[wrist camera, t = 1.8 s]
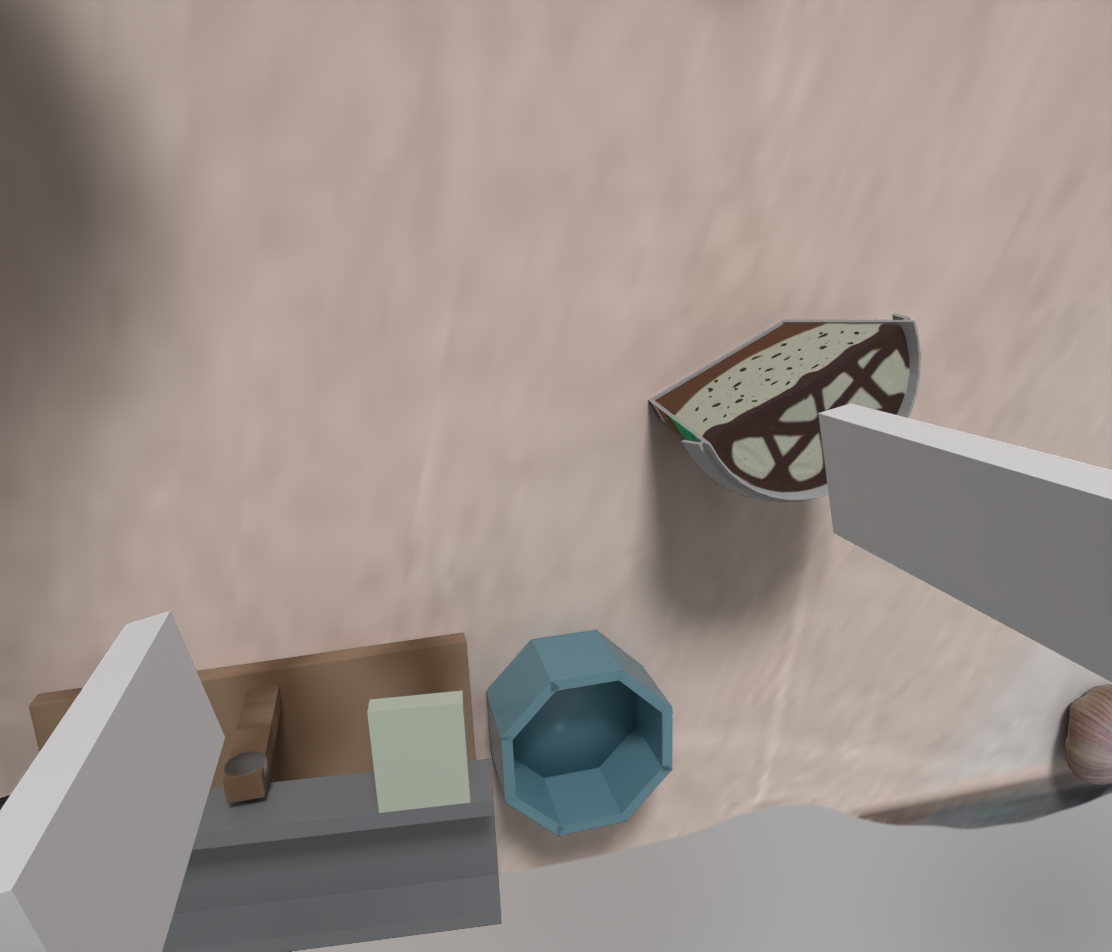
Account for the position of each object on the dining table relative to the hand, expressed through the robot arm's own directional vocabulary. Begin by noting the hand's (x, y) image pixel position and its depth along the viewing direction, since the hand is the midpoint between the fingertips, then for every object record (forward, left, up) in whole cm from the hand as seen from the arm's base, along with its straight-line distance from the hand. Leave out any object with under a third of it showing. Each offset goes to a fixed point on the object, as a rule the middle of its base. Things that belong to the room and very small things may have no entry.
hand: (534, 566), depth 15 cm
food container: (+18, -2, -27) cm, 33 cm away
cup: (+7, -20, -27) cm, 35 cm away
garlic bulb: (+48, -29, -27) cm, 63 cm away
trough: (-10, -18, -22) cm, 30 cm away
